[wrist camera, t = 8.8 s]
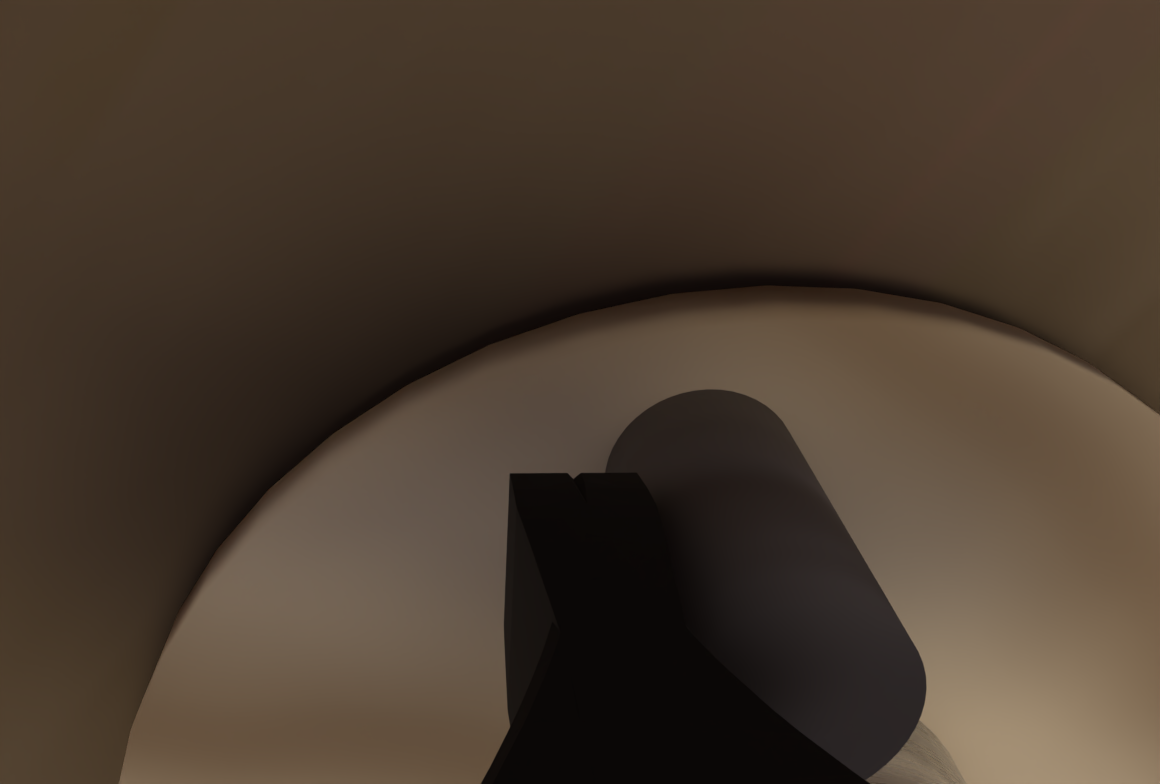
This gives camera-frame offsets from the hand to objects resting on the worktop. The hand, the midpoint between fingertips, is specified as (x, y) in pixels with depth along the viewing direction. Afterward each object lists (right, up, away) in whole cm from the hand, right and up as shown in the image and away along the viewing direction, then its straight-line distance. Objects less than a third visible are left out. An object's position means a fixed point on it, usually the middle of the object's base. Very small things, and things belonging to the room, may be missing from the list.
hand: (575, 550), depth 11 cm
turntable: (+2, -5, +6) cm, 8 cm away
